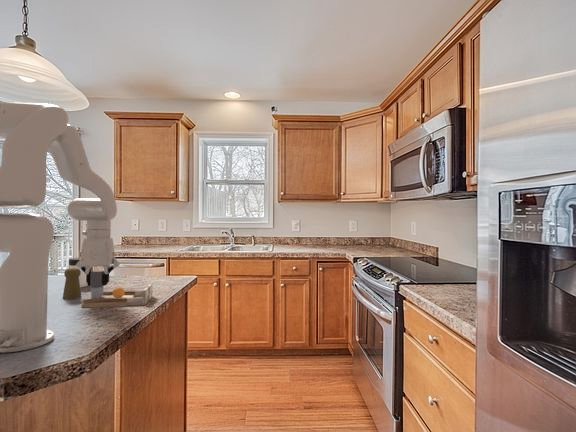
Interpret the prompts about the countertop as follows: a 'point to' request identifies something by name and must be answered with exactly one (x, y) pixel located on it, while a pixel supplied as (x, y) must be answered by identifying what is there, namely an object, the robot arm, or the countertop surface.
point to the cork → (72, 284)
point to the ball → (118, 292)
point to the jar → (82, 276)
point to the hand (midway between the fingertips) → (97, 284)
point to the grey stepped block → (96, 284)
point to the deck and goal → (125, 300)
